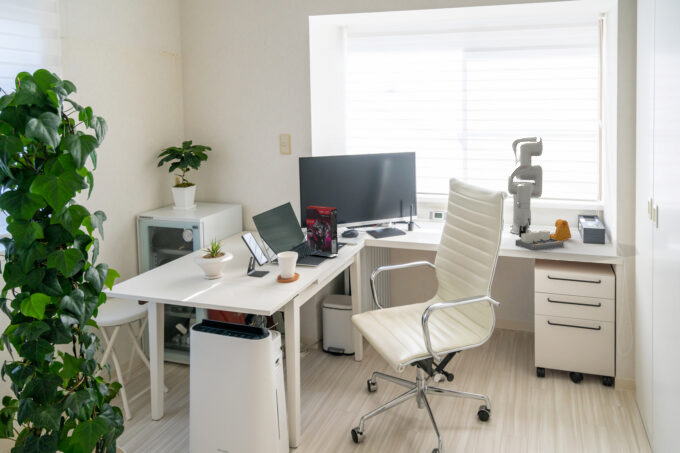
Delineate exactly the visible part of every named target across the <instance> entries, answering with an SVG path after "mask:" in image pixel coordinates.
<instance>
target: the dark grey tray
mask: <svg viewBox="0 0 680 453" xmlns="http://www.w3.org/2000/svg"><path fill="white" fill-rule="evenodd" d="M564 244H565V242H564V240H563V241H559V240H556V239H552V238H550V240H542V239H540V241H533V243H526V242H522V241H521V238H520V239H515V246H517V247H521V248H524V249H527V250H530V251H533V252H534V251H535V252H536V251H543V250H550V249H558V247H559V248H564V247H565V246H564Z"/></svg>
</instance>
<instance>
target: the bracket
mask: <svg viewBox="0 0 680 453" xmlns="http://www.w3.org/2000/svg"><path fill="white" fill-rule="evenodd" d="M554 226H555V227H556V229H555V232H554V233H550V238H552V239H556V240H559V241H563V242H564V241H568V239H571V238H572V233H571V231H570V226H569V223H568V221H567V220H566V219H565V220H564V219H561V218H559V219H557V220H555V223H554Z"/></svg>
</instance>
